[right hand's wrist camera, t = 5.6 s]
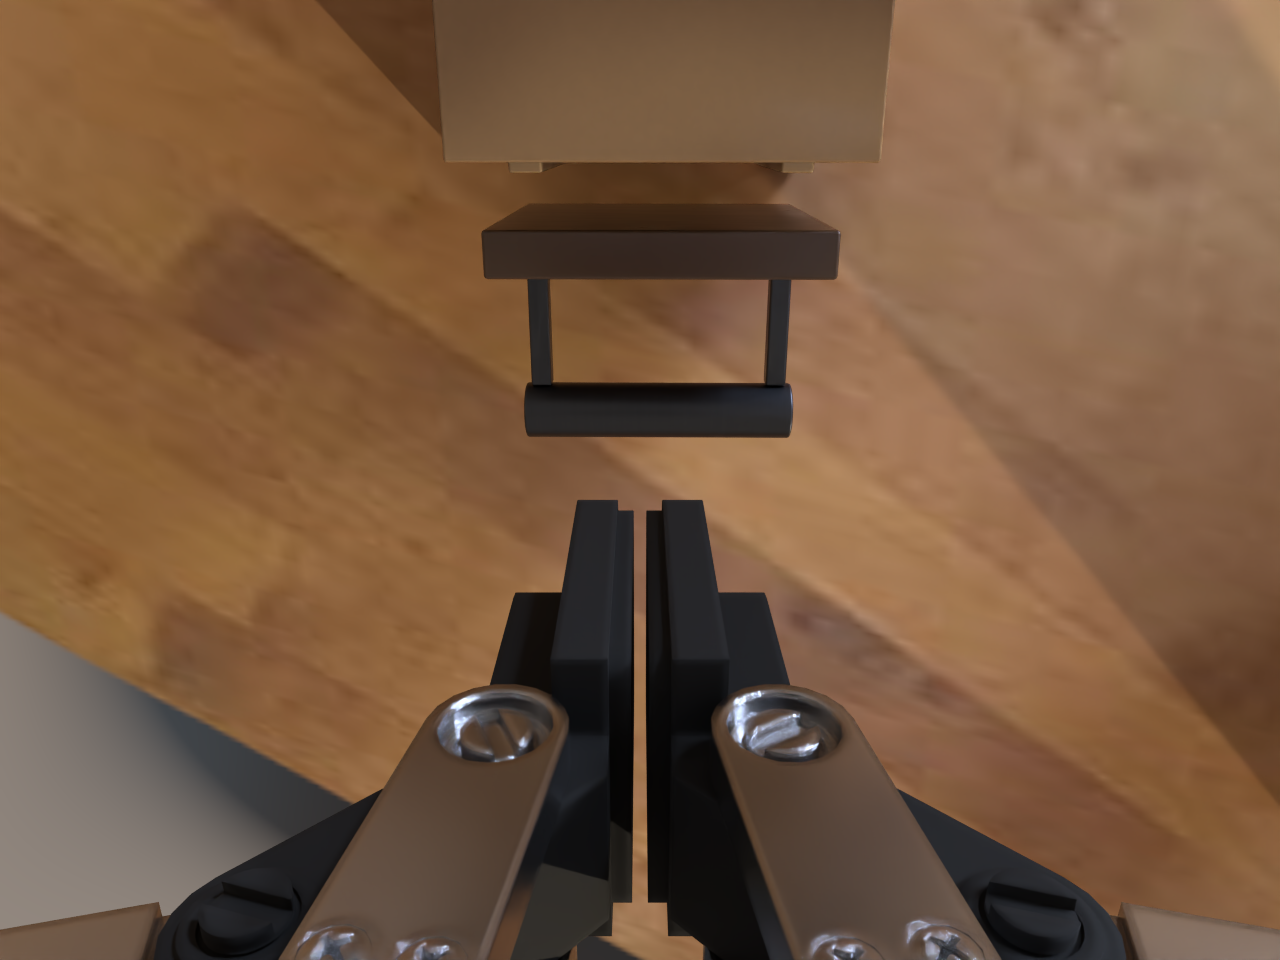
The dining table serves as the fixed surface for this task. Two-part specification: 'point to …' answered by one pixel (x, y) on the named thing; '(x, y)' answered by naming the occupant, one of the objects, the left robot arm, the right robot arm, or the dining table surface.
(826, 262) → the drawer
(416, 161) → the dining table surface
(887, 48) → the cabinet
